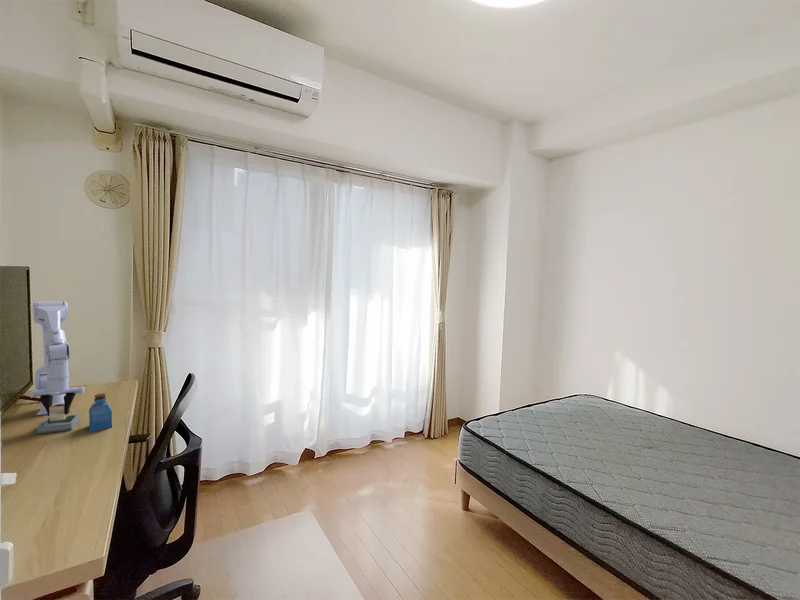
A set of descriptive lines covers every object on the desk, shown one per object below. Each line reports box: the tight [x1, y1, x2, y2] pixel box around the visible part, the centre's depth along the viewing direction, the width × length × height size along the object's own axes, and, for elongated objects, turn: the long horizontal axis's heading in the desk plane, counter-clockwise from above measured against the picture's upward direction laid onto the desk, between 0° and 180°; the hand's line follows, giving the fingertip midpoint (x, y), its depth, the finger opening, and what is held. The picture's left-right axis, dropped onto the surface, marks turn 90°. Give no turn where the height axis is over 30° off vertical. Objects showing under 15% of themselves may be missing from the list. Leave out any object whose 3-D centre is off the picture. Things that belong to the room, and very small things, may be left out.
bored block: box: [48, 403, 69, 421], centre depth 137 cm, size 4×4×5 cm
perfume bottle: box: [88, 393, 113, 432], centre depth 139 cm, size 6×6×12 cm
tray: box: [36, 413, 80, 435], centre depth 137 cm, size 9×9×2 cm
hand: (58, 414), depth 137 cm, fingers closed on bored block, 4 cm apart
